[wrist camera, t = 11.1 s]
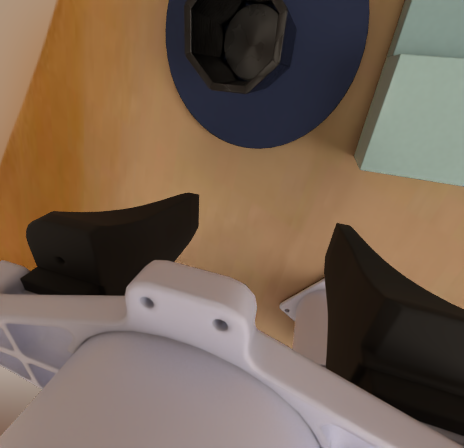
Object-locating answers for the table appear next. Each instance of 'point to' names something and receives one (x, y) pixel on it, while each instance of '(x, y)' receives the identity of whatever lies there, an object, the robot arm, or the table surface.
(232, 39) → the pen cup
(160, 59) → the table surface
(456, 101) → the shelf riser
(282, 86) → the navy mat
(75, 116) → the table surface
